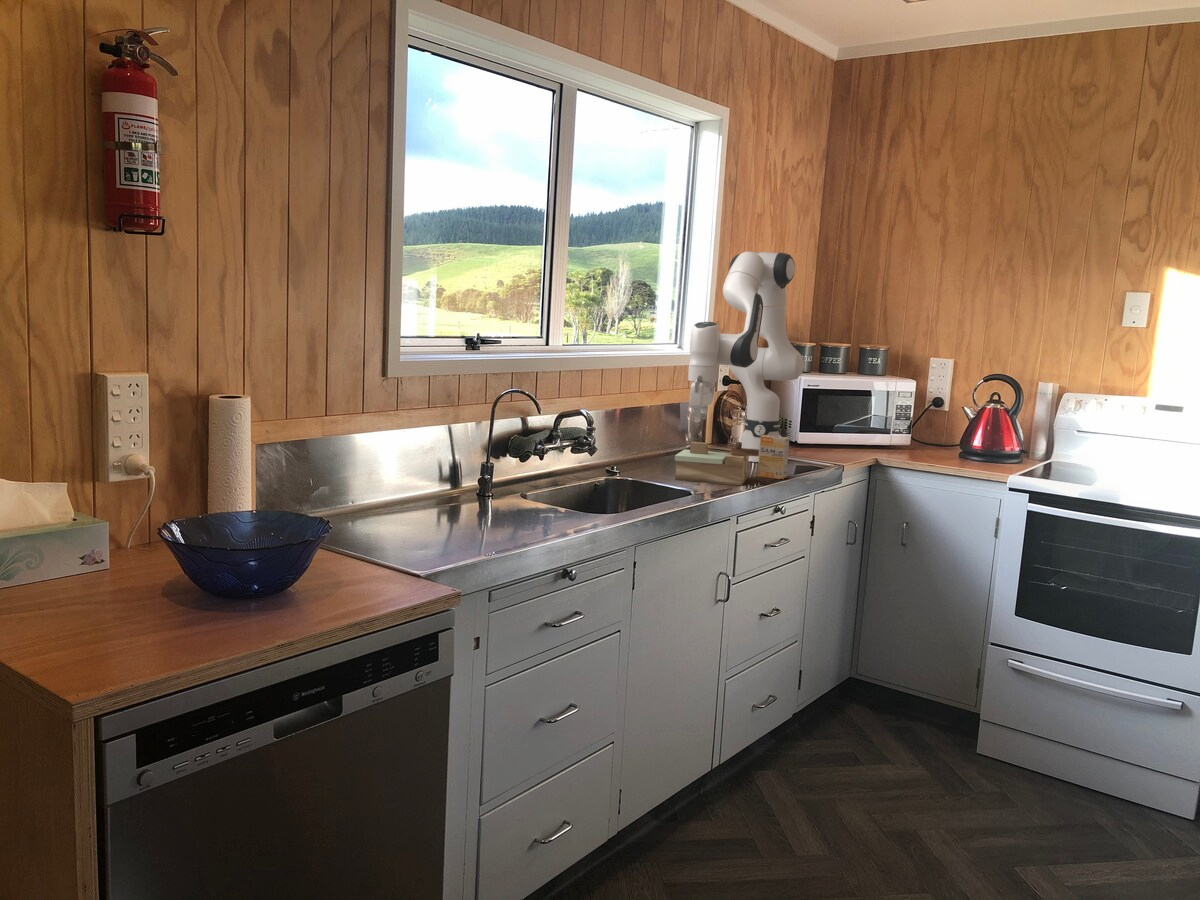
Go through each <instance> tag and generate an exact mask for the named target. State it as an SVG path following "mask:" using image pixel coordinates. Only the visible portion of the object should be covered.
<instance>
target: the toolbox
mask: <svg viewBox="0 0 1200 900" xmlns="http://www.w3.org/2000/svg"><path fill="white" fill-rule="evenodd" d="M728 453H729V454H728V455H726V456H725V462H724V463H723V464H712V463H700V462H687V461H675V479H674V480H675V481H683V480H685V481H686V482H695V483H707V484H719V485H731V486H742V485H743V484H744V483H745V482H746V481H747V480H748V477H749V476H748V475H749V461H748V460H749V456H746V455H733V454H731V451H730V452H728Z"/></svg>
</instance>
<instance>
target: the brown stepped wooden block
mask: <svg viewBox="0 0 1200 900" xmlns="http://www.w3.org/2000/svg"><path fill="white" fill-rule="evenodd" d="M730 449H731V450H730V452H731V454H733V455H746V456H759V449H747V448H742V442H739V441H736V442H735V447H731V448H730Z"/></svg>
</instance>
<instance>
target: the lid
mask: <svg viewBox="0 0 1200 900" xmlns="http://www.w3.org/2000/svg"><path fill="white" fill-rule="evenodd" d="M689 448H690V449H682V450H681V451H680V452H678V453H677V454H675V455H674V461H675V462H676V461H687V462H700V463H712V464H723V463H724V462H725V456H726V455H728V454H729V453H730V452H722V451H709V442H702V441H691V442H690V444H689Z"/></svg>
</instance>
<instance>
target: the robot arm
mask: <svg viewBox="0 0 1200 900" xmlns="http://www.w3.org/2000/svg"><path fill="white" fill-rule="evenodd" d="M795 265H796V264H795V261H794V258H793V257H792V255H791V254H789V253H786V252H782V251H780V252H771V251H761V252H754V251H743V252H741V253H739V254H736V255H734V257H732V259H731V261H730V263H729V268H728V270H729V271H728V273H727V275H726V278H725V280H724V282H723V285H722V286H723V287H722V295H723V298H724V300H725V301H726V303H728V305H729V306H730V307H731V308H733V309H735V310H737V311H739V312H742V313H744V314H746V315H745V320H744V321H745V322H744V328H743V331H742V332H740V333H737V334H735V333H722V332H720V331H719V324H718V323H717V322H714V321H699V322H696V323H695V324H694V325H693V326H692V329H691V334H690V342H689V354H690V358H689V362H688V373H687V374H688V375H687V381H689V382H691V386H690V394H689V407H690V408H691V409H693V416H694V417H693V419H694V420H693V422H694V423H700V422H701V421H703V420H706V419H707V414H708V409H709V405H711V404H713V400H714V394H715V389H716V388H715V387H716V383H717V382H718V370H719V369H718V368H719V365H722V366H728V368H729V370H730V371H729V372H730V373H731V375H733V376H734V377H735V378H736V379H737V380H738V381H739V382H740V383H741V385H742V387H743V390H744V392H745V396H746V418H745V420H744V429H745V430H744V431H743V432H741V434H739V441H738V442H742V448H747V449H759V451H760V437H761V436H762V435H770V436H779V437H782V435H781V434H780V433H779V431H780V428H781V427H780V426H781V424H780V423H781V422H780V421H781V420H779V419H780V408H781V407H780V405H781V401H780V397H779V396H778V395H777V393H776V392H774V391H772V390H770V388H767V387H766V386H765V383H764V381H777V382H779V381H780V382H781V381H784V382H785V381H786V382H787V381H792V380H797V379H798V378H800V377H801V375H802V373H803V371H804V369H805V361H804V360H805V359H804V358H803V356H802V353H800V351H798V350H797V349H796V348H795V347H794V346H793V344H792V343H791V341H790V340H789V338H788V335H787V330H786V329H787V328H786V313H787V312H786V310H787V292H786V291H787V289H786V287H787V286H788V285H789V283H791V281H792V280H793V279H794V276H795V272H796V266H795ZM759 337H760V338H762V339H764V340H766V342H767V344H768V347H759V340H760V339H759ZM748 462H753V463H759V456H749V460H748Z"/></svg>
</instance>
